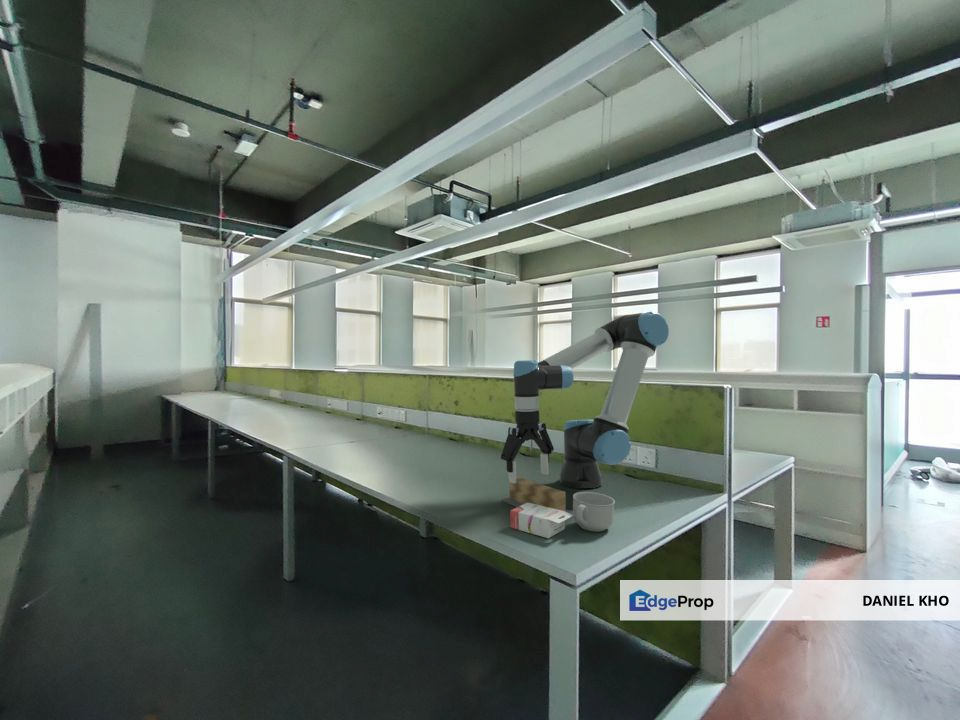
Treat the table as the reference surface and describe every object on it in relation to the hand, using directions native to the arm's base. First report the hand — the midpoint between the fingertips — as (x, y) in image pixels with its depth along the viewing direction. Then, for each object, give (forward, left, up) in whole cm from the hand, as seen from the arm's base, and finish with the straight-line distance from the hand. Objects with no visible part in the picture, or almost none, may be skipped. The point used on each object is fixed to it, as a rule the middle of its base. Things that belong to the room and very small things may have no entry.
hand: (529, 478), depth 130 cm
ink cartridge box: (+13, +10, -6) cm, 17 cm away
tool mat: (+1, +4, -8) cm, 9 cm away
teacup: (+1, +24, -8) cm, 26 cm away
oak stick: (+1, +4, -7) cm, 8 cm away
